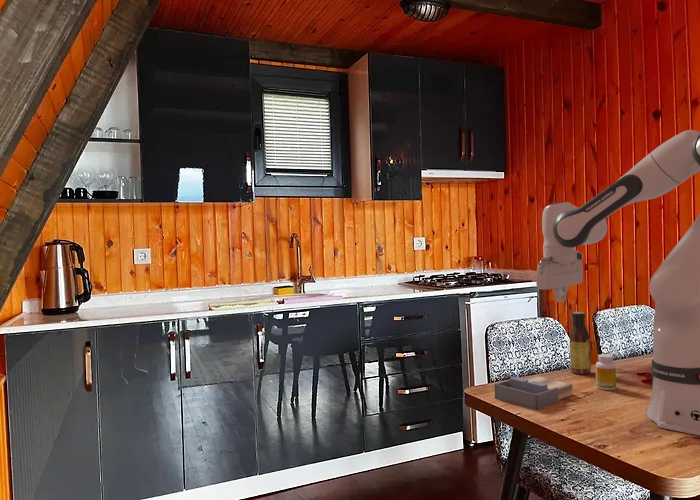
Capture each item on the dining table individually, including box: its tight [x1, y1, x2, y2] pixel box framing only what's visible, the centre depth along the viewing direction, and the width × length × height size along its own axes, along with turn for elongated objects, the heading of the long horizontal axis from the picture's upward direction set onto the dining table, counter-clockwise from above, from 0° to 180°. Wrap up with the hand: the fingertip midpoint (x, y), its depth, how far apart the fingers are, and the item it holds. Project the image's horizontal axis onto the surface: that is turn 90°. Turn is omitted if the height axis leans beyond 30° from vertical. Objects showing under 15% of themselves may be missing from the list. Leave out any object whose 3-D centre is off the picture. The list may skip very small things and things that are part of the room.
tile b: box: [509, 376, 528, 392], centre depth 155 cm, size 4×4×2 cm
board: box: [526, 375, 574, 401], centre depth 157 cm, size 12×8×3 cm
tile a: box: [528, 381, 547, 394], centre depth 150 cm, size 4×4×2 cm
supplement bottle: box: [595, 353, 617, 391], centre depth 160 cm, size 5×5×10 cm
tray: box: [494, 378, 559, 411], centre depth 152 cm, size 14×10×4 cm
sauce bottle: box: [569, 311, 592, 375], centre depth 177 cm, size 7×6×20 cm
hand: (560, 301), depth 163 cm, fingers closed
